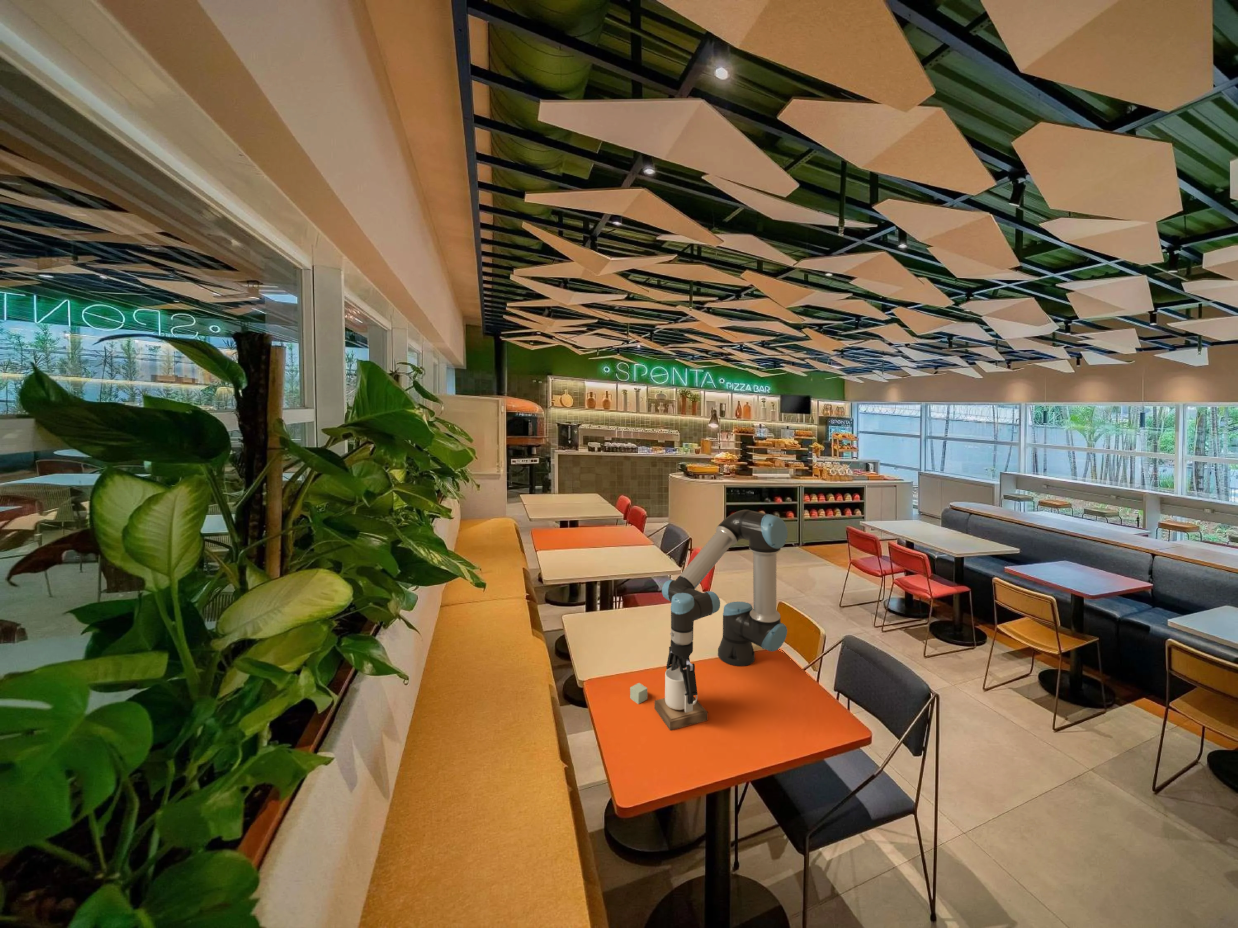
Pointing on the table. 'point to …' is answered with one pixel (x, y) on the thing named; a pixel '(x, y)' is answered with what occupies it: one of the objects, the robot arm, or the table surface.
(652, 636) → the table surface
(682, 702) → the mug
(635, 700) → the sage block
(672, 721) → the slab
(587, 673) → the table surface
